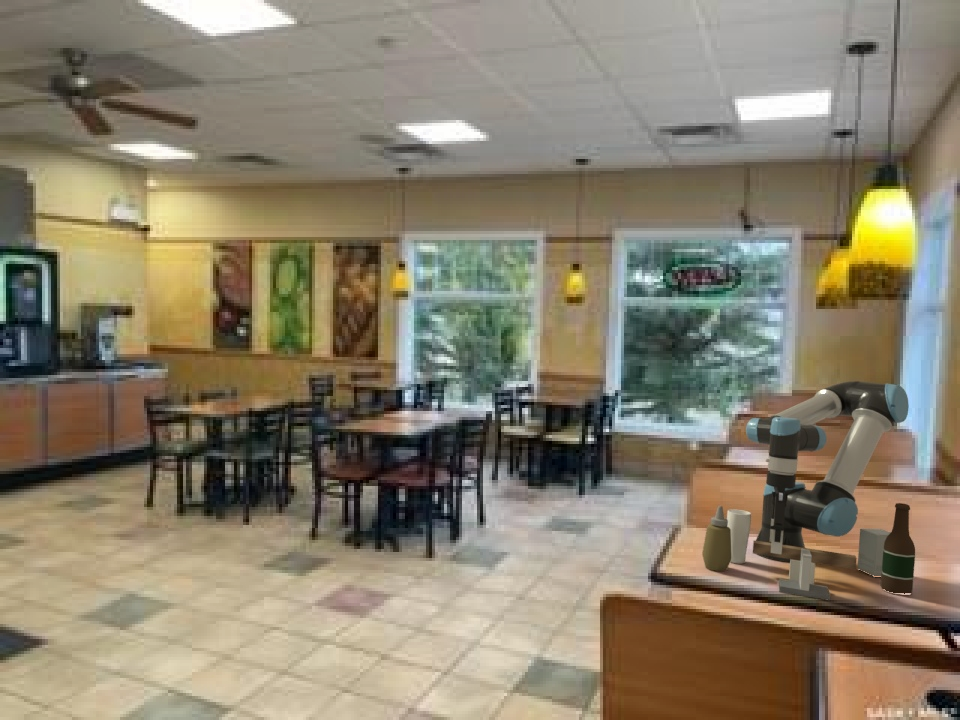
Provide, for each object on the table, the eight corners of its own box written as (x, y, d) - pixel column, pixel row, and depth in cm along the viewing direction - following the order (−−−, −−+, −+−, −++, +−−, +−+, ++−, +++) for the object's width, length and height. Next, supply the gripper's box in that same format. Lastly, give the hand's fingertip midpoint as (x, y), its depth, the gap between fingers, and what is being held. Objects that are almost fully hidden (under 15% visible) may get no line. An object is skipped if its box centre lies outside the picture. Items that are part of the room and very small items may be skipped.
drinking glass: (723, 562, 211) (727, 512, 211) (723, 556, 218) (727, 508, 217) (747, 566, 209) (751, 515, 209) (747, 560, 215) (751, 511, 215)
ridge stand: (779, 591, 188) (782, 552, 188) (778, 584, 194) (781, 545, 194) (829, 600, 184) (832, 559, 183) (827, 592, 190) (830, 552, 190)
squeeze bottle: (726, 565, 209) (731, 504, 208) (733, 574, 201) (738, 510, 200) (698, 563, 209) (702, 502, 209) (704, 571, 201) (709, 508, 201)
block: (789, 581, 197) (791, 560, 197) (788, 576, 202) (790, 555, 202) (813, 585, 195) (815, 564, 195) (812, 580, 200) (813, 559, 199)
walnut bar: (752, 553, 201) (753, 542, 201) (752, 550, 204) (753, 540, 204) (855, 569, 192) (856, 558, 192) (854, 566, 195) (855, 555, 195)
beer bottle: (874, 585, 199) (880, 500, 198) (902, 587, 198) (909, 501, 198) (889, 595, 191) (896, 506, 190) (918, 597, 191) (925, 508, 190)
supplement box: (896, 578, 207) (899, 535, 207) (873, 578, 206) (876, 534, 205) (878, 570, 214) (881, 528, 214) (856, 569, 213) (859, 527, 213)
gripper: (766, 465, 213) (760, 535, 213) (768, 476, 190) (761, 556, 190) (793, 468, 210) (787, 539, 211) (798, 480, 187) (792, 561, 187)
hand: (775, 547), depth 200 cm, fingers open, 13 cm apart
